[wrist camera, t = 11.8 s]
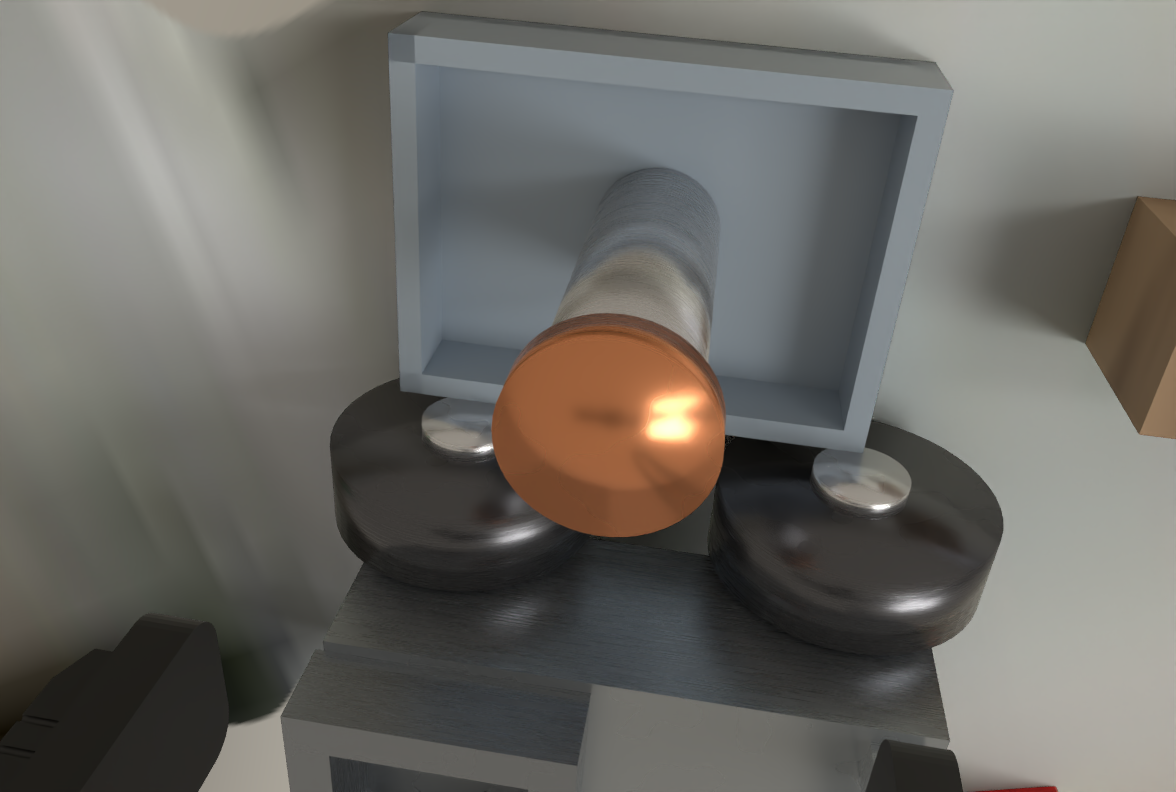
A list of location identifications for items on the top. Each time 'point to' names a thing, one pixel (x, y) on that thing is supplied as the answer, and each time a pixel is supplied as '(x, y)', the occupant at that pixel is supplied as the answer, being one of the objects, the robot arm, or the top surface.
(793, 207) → the tray
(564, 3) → the top surface
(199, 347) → the top surface
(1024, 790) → the stack of blocks
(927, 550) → the trolley
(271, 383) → the top surface
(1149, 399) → the block
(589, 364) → the pin
